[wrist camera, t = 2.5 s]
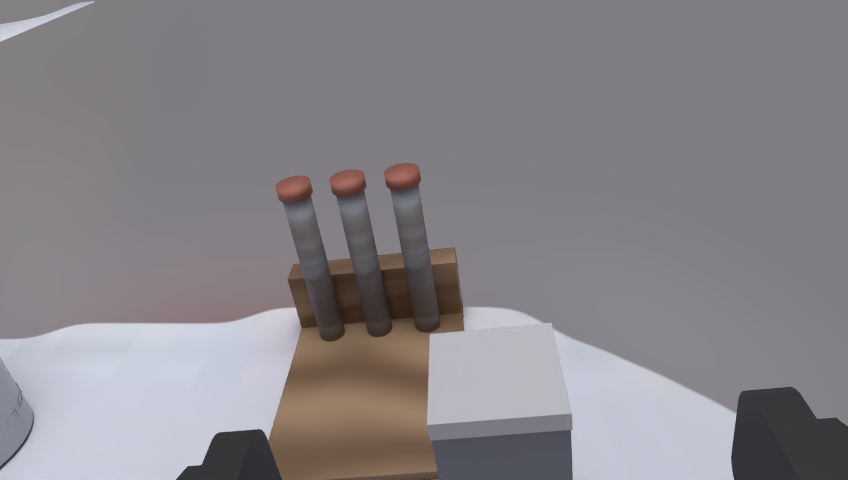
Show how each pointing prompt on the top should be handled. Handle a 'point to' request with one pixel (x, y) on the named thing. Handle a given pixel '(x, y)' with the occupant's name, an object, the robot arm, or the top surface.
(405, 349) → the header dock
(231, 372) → the top surface
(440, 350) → the plug block
